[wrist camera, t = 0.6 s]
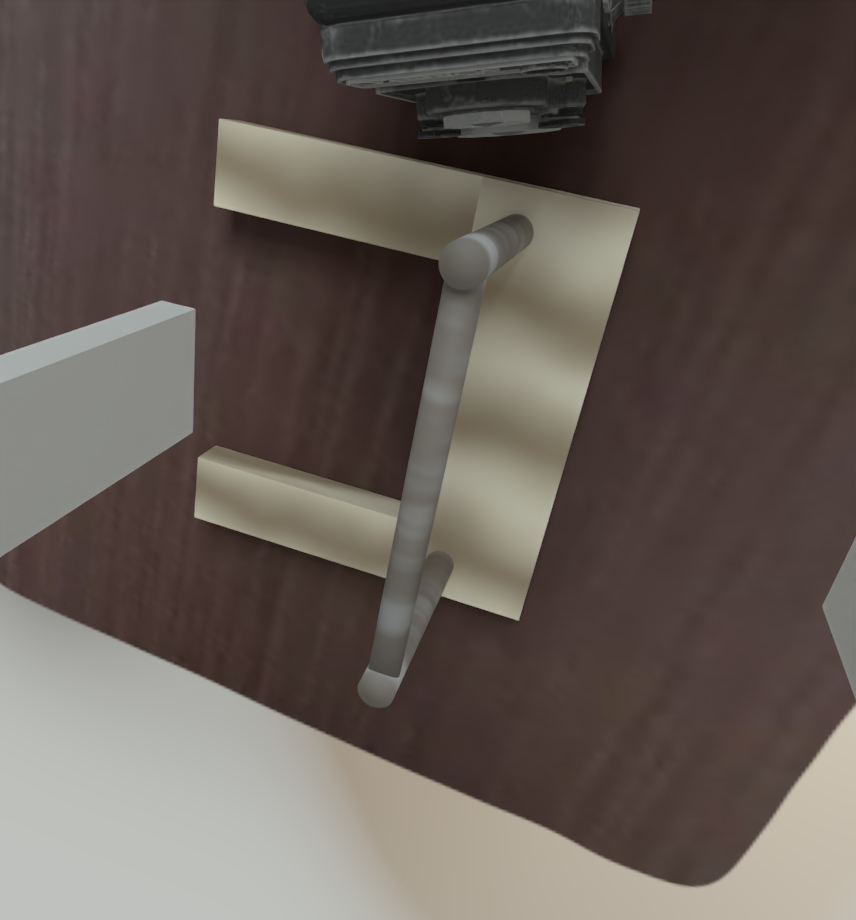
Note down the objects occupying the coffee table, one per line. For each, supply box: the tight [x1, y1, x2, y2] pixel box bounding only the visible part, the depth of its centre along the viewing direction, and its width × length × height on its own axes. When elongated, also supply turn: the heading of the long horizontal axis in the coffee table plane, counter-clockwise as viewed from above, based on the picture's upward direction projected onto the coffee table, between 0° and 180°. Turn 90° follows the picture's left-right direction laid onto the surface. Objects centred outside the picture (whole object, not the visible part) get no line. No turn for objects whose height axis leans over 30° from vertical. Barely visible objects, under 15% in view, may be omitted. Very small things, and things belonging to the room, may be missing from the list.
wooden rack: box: [194, 119, 640, 708], centre depth 34 cm, size 22×20×13 cm
